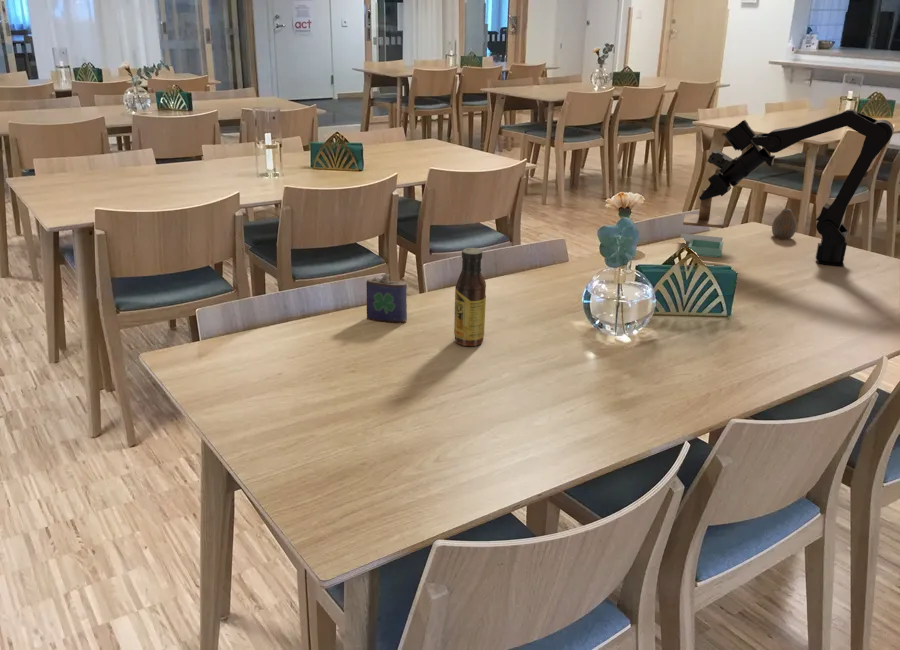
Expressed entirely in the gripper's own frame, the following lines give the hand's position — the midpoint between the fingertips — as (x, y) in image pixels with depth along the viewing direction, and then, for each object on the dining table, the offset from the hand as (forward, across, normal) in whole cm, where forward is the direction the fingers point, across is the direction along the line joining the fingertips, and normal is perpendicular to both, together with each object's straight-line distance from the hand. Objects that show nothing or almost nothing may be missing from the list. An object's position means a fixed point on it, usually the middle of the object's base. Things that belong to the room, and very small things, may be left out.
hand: (701, 198), depth 235 cm
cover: (+4, 0, +6) cm, 7 cm away
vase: (-5, -20, +25) cm, 32 cm away
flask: (+39, +101, -20) cm, 110 cm away
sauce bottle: (+24, +102, -5) cm, 105 cm away
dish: (+6, +10, +13) cm, 17 cm away
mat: (+9, -1, +10) cm, 13 cm away
